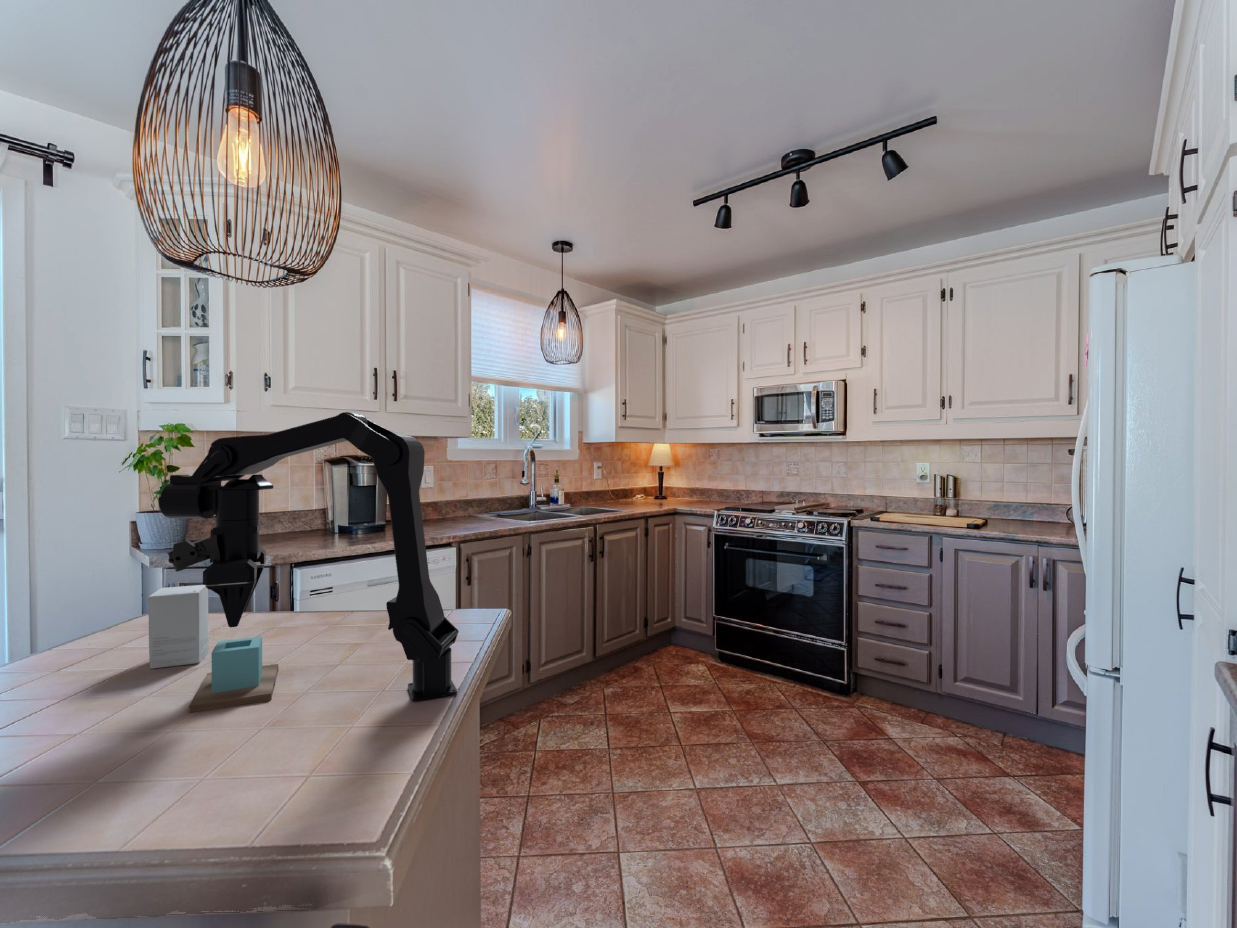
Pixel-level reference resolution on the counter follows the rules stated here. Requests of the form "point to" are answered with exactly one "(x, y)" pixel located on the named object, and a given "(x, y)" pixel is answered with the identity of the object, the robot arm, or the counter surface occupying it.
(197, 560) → the robot arm
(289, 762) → the counter surface
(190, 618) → the supplement box
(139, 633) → the counter surface
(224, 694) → the pin plate
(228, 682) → the square socket block
